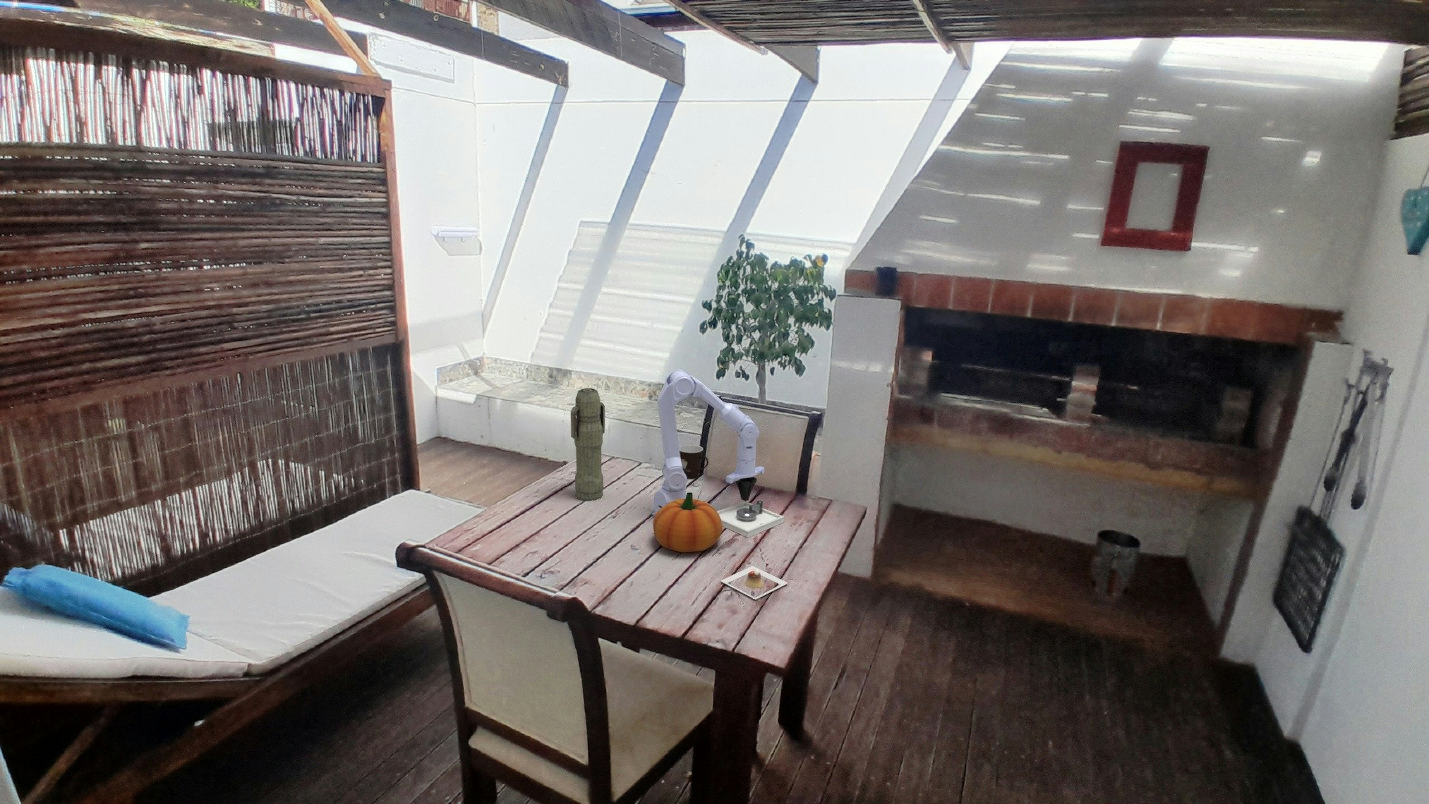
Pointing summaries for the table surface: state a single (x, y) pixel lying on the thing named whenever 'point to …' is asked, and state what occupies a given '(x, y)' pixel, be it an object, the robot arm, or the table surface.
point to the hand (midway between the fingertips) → (744, 499)
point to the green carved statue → (588, 443)
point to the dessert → (754, 579)
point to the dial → (750, 511)
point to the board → (748, 527)
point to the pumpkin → (687, 525)
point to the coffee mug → (691, 460)
